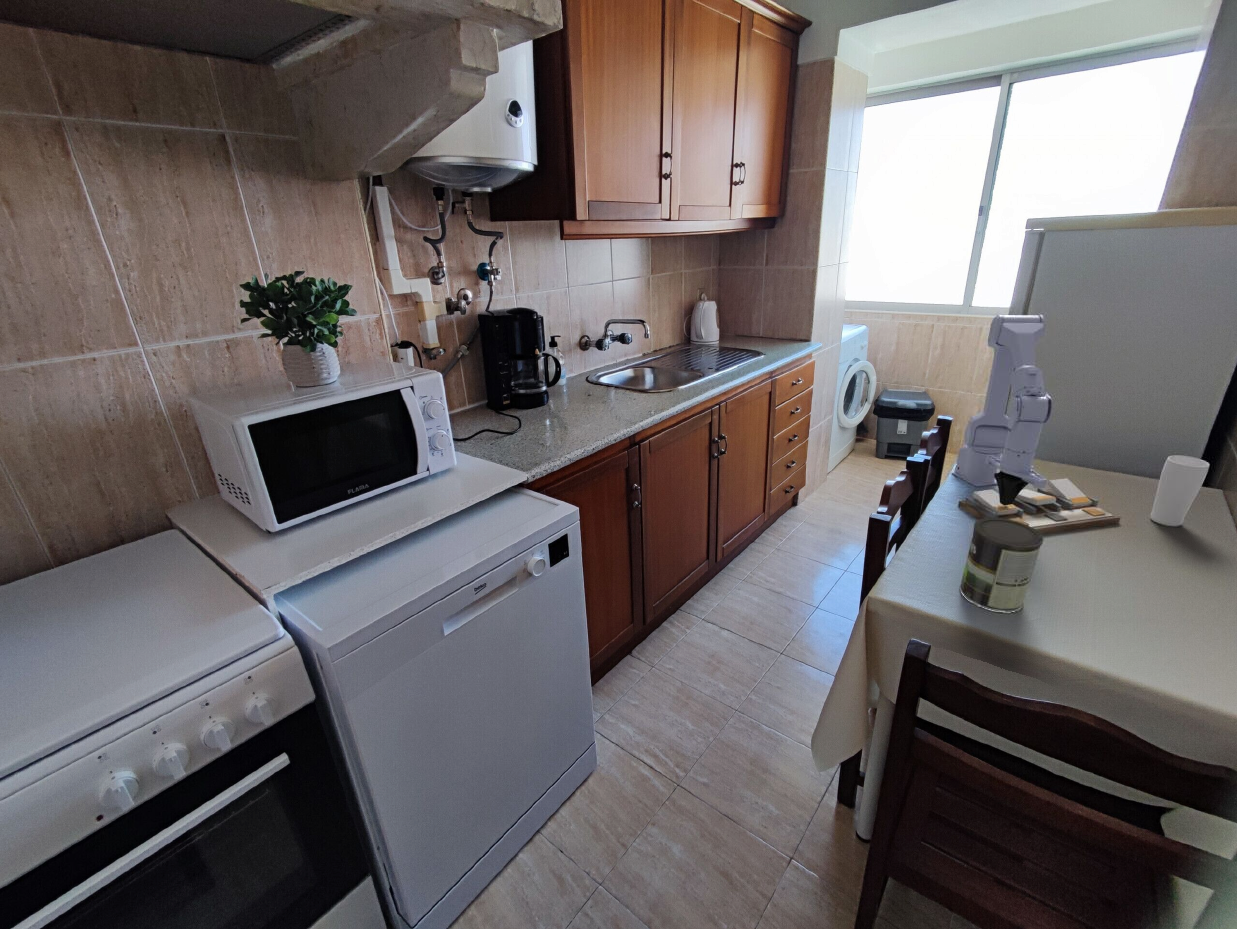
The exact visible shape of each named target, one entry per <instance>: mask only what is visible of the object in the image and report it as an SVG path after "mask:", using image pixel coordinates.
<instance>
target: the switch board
mask: <svg viewBox="0 0 1237 929" xmlns="http://www.w3.org/2000/svg"><path fill="white" fill-rule="evenodd" d="M1028 490H1030V489H1028ZM1034 491H1035V492H1038V493H1041V494H1045V495H1049V496H1053V497H1055V498H1056V503H1050V504H1042V505H1035V504H1031V503H1028V502H1025V501H1022V500H1019V499H1017V498H1015V500H1014V501H1013V503H1012V504H1013V505H1014V506H1015V507H1017V508H1018V511H1017V513H1012V514H1005V515H998V513H996V512H994V511H992V510H991V509H989V508H987V507H986V506H985V505H983V504H982V503H981V502H980V501H978V500H977V499H976V498H971V497H969V496H967V497H965V499H961V500H958V504H957V507H958V506H959V507H958V508H960V507H961V508H960V509H961V510H963V509H964V510H963V511H965V512H966V511H967V512H966V513H968V512H969V513H968V514H970V515H971V514H972V516H973V517H975V518H977V519H978V518H979V519H978V520H980V519H985V518H1002V519H1008V520H1013V521H1017V522H1020V523H1023V524H1025V525H1028V526H1030V527H1032V528H1034V529H1035V530H1037V531H1038V532H1039V533H1040V534H1041V535H1044V534H1051V533H1058V532H1064V531H1065V532H1066V531H1072V530H1078V529H1087V528H1092V527H1093V528H1094V527H1099V526H1108V525H1114V524H1119V523H1120V521H1121V516H1119V515H1117V514H1115V513H1113V512H1111V511H1109V510H1106V509H1104V508H1103V507H1100V506H1098V503H1099V500H1098V499H1096V498H1094V497H1092V496H1090V495H1087V494H1085V493H1083V494H1084V495H1085V496H1086V497H1087V498H1088V499H1089V500H1090V501H1091V502H1092V503H1091V504H1090V505H1089V506H1083V507H1075V508H1073V506H1074V503H1072V502H1070V501H1067V500H1065V499H1063V498H1061V497H1059V496H1058V495H1057V494H1056V493H1055V492H1054V491H1053V490H1052V489H1051V488H1048V489H1045V488H1038V489H1036V490H1034Z"/></svg>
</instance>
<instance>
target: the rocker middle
mask: <svg viewBox="0 0 1237 929" xmlns="http://www.w3.org/2000/svg"><path fill="white" fill-rule="evenodd" d="M1035 491H1036V490H1031V489H1029V490H1028V489H1027V488H1023V489H1022V490H1021V491H1020V493H1019V494H1018V495H1017V497H1016V498H1017V499H1019V500H1022V501H1025V502H1028V503H1031V504H1035V505H1042V504H1050V503H1056V498H1055V497H1053V496H1049V495H1045V494H1041V493H1038V492H1035Z"/></svg>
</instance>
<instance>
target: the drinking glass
mask: <svg viewBox="0 0 1237 929" xmlns="http://www.w3.org/2000/svg"><path fill="white" fill-rule="evenodd" d="M1210 465H1211V464H1210V463H1209V462H1207V461H1206V460H1203V459H1201V458H1197V457H1193V456H1188V455H1177V454H1176V455H1169V456H1168V457H1167V458H1166V460H1165V463H1164V465H1163V467H1162V470H1161V474H1160V477H1159V481H1158V485H1157V490H1156V493H1155V498H1154V502H1153V506H1152V510H1151V513H1150V514H1149V515H1150V516H1149V518H1150V519H1151V520H1152V521H1153V522H1154V523H1157V524H1159V525H1162V526H1167V527H1179V526H1181V525H1182V524H1183V523H1184V519H1185V518H1186V515H1187V513H1188V511H1189V510H1190V508H1191V506H1192V504H1193V502H1194V500H1195V498H1196V496H1197V495H1198V494H1199V492H1200V490H1201V487H1202V486H1203V483H1204V481H1205V479H1206V476H1207V474H1208V472H1209V468H1210Z"/></svg>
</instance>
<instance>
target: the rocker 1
mask: <svg viewBox="0 0 1237 929" xmlns="http://www.w3.org/2000/svg"><path fill="white" fill-rule="evenodd" d="M972 497H974V499H977V500H978V501H980V502H981V503H982V504H983V505H985V506H986V507H987V508H989V509H991V510H992V511H994V512H996V513H998V515H1005V514H1012V513H1017V511H1018V508H1017V507H1015V506H1014V505H1013V504H1012V505H1003V504H1001V503H1000V499H999V492H997V491H996V490H994V489H985V490H977V491H974V492H973V494H972Z"/></svg>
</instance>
